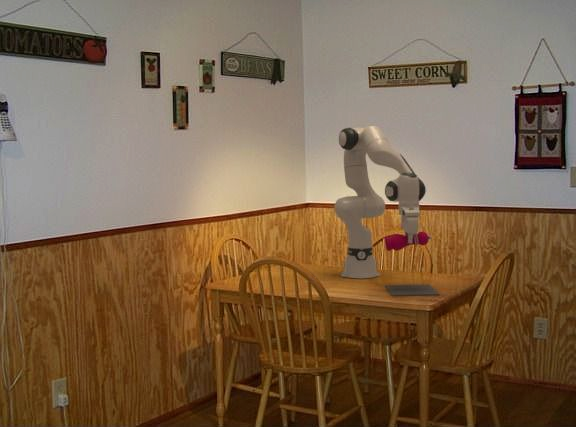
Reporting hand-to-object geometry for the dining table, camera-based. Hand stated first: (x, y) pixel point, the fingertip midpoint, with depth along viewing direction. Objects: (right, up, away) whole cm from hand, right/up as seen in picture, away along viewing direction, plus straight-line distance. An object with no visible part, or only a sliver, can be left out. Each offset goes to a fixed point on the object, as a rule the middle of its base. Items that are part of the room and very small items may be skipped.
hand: (408, 242), depth 341 cm
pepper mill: (-10, -1, 0) cm, 10 cm away
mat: (+1, -21, +2) cm, 21 cm away
